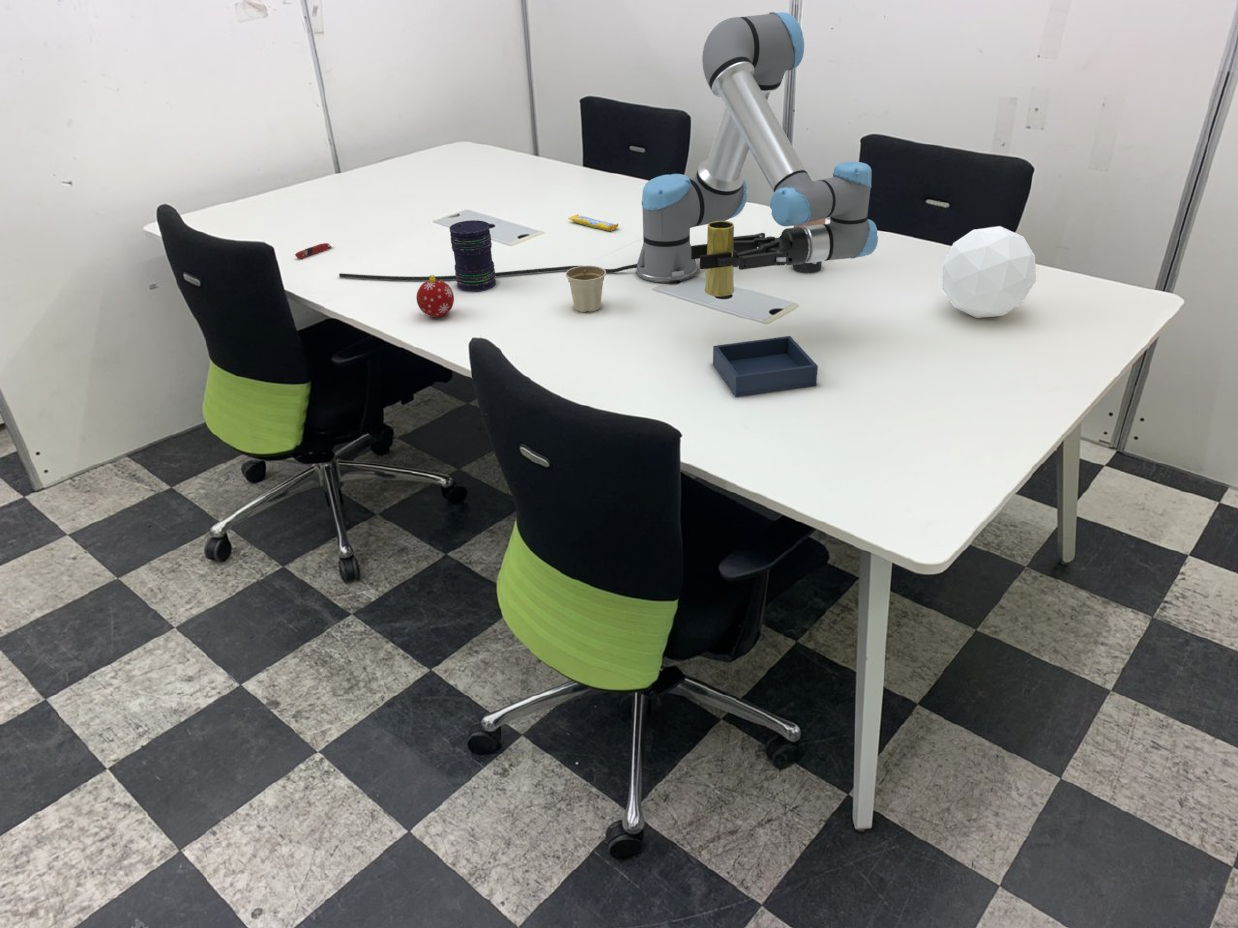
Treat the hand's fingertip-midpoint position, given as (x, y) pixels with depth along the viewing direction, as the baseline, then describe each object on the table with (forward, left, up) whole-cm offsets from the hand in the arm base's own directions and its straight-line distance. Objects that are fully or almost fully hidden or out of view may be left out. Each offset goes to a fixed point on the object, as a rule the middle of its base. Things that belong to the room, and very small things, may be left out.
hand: (695, 257), depth 190 cm
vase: (+4, +3, -8) cm, 10 cm away
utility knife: (-120, +24, -20) cm, 123 cm away
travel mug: (+12, +52, -20) cm, 57 cm away
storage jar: (-64, +17, -20) cm, 69 cm away
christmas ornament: (-63, -3, -20) cm, 66 cm away
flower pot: (-31, +12, -20) cm, 38 cm away
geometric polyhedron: (+55, +36, -20) cm, 69 cm away
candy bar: (-54, +68, -20) cm, 88 cm away
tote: (+17, -9, -20) cm, 28 cm away
